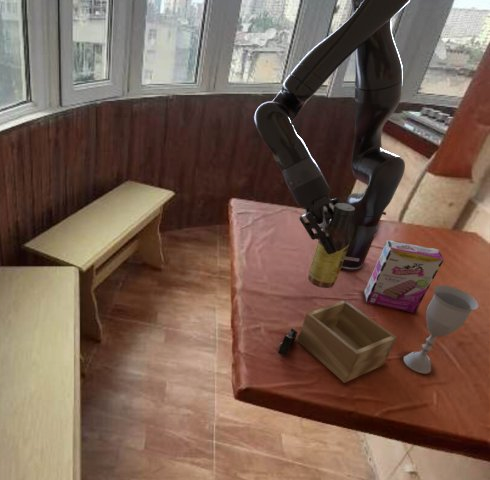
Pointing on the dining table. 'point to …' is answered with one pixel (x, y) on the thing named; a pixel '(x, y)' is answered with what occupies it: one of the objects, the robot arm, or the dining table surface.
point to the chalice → (441, 322)
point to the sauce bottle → (330, 264)
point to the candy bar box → (402, 275)
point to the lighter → (287, 342)
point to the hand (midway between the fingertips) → (340, 247)
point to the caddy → (345, 340)
